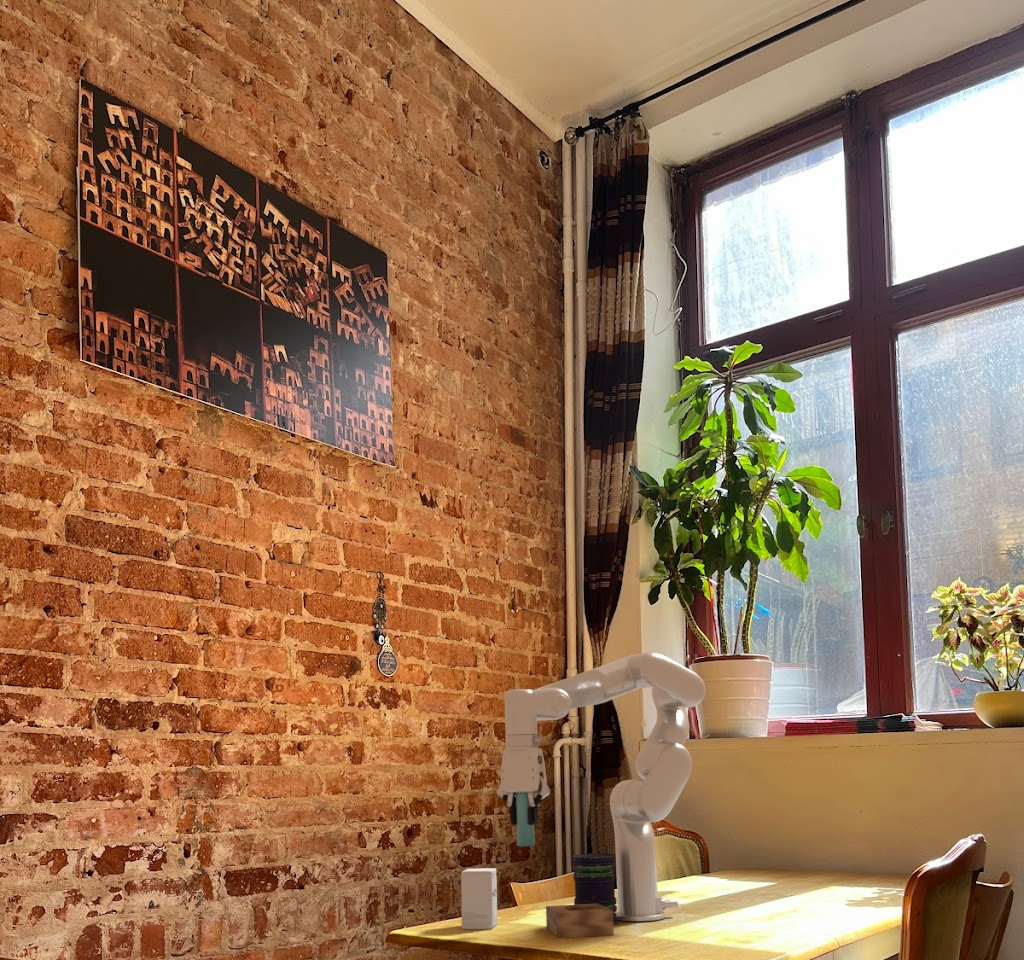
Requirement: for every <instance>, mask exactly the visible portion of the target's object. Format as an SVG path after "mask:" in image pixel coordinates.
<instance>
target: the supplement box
mask: <svg viewBox="0 0 1024 960" xmlns="http://www.w3.org/2000/svg"><path fill="white" fill-rule="evenodd" d="M460 874H461V875H460V878H461V883H460V885H461V887H460V889H461V893H460V895H461V901H460V902H461V929H462V930H493V928H494V927H496V926H497V925H498V890H497V889H498V888H497V885H498V884H497V883H498V881H497V878H498V877H497V868H496V867H495V868H490V867H486V868H485V867H482V868H481V867H480V868H466V869H465V870H462V871H461V872H460ZM496 924H497V925H496Z"/></svg>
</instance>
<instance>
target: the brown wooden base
mask: <svg viewBox="0 0 1024 960" xmlns="http://www.w3.org/2000/svg"><path fill="white" fill-rule="evenodd" d="M545 913H546V915H545V917H546V920H545V921H546V930H547V931H548V932H550V933H551V934H553V935H554V934H555V936H556V937H558V938H559V937H560V938H559V939H565V938H566V939H567V937H570V938H582V937H597V936H598V937H600V936H614V935H615V934H614V933H615V932H614V931H615V928H614V925H613V910H611V909H609V908H606V907H604V906H602V905H600V904H597V903H595V904H577V905H574V904H563V905H546V906H545Z"/></svg>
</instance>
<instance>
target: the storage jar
mask: <svg viewBox="0 0 1024 960" xmlns="http://www.w3.org/2000/svg"><path fill="white" fill-rule="evenodd" d="M614 860H615V855H614V854H612V853H580V854H575V855H572V861H573V863H572V864H573V865H572V866H573V867H572V873H573V874H572V875H573V877H572V879H573V881H574V896H575V897H574V899H573V903H574V904H573V905H577V904H595V903H597V904H600V905H602V906H604V907H606V908H609V909H611V910H613V926H614V925H617V924H618V920H616V915H617V914H616V913H614V912H616V911H618V905H617V903H618V900H617V898H616V895H615V894H616V893H615V891H616V890H615V880H616V865H615V861H614Z"/></svg>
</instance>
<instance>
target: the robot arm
mask: <svg viewBox="0 0 1024 960" xmlns="http://www.w3.org/2000/svg"><path fill="white" fill-rule="evenodd" d="M645 688H651V697H652V700H653V703H654V707H655V709H656V721H655V723H654V726H653V727H652V728H653V729H652V730H651V732H650V734H649V736H648V737H647V739H646V741H645V743H643V746H642V748H641V749H640V751H639V753H638V755H637V757H636V759H635V765H634V766H635V767H634V768H635V771H636V774H637V775H638V776H639V778H641V779H626V780H622V781H620V782H618V783H617V784H615V786H614V787H613V789H612V791H611V793H610V796H609V808H610V813H611V818H612V822H613V831H614V843H615V845H614V848H615V873H616V887H617V889H616V891H617V895H616V896H617V911H616V912H614V913H616V914H617V915H616V920H617V921H624V922H651V921H652V922H653V921H658V920H659V921H660V920H662V919H665V918H666V913H665V910H666V909H677V908H678V906H679V904H678V900H677V899H664V898H663V897H660V896H659V895H658V880H657V879H658V877H657V875H658V874H657V858H656V839H655V833H654V829H653V826H652V823H657V822H660V821H662V820H664V819H665V818H666V817H667V816H668V815H669V814H670V812H671V811H672V810H673V808H674V806H675V804H676V802H677V801H678V799H679V797H680V795H681V793H682V791H683V789H684V788H685V786H686V785H687V782H688V781H689V778H690V777H691V776H690V775H691V773H692V769H693V767H692V766H693V760H692V757H691V754H690V751H689V750H688V749H687V748H686V747H685V743H686V741H687V739H688V738H689V734H690V721H689V717H688V713H687V710H686V708H687V709H688V708H689V709H690V708H694V707H697V706H698V705H700V704H701V703H702V702H703V701H704V699H705V697H706V692H707V690H706V689H707V688H706V683H705V682H704V680H703V678H702V677H701V676H700V675H698V673H696V672H695V671H693V670H691V669H690V668H687V667H685V666H683V665H682V664H679V663H678V662H676V661H675V660H673V659H671V658H669V657H667V656H664V655H663V654H661V653H657V652H652V651H648V652H644V653H636V654H631V655H628V656H626V657H622V658H619V659H616V660H615V661H611V662H609V663H606V664H603V665H600V666H597V667H594V668H591V669H588V670H586V671H583V672H580V673H578V674H576V675H572V676H570V677H566V678H565V679H561V680H558V681H554V682H552V683H548V684H545V685H544V686H543V685H542V686H541V687H538V688H536V689H530V688H529V689H528V688H516V689H509V690H506V692H505V693H504V699H503V700H504V722H505V723H504V724H505V725H504V726H505V727H504V728H505V729H504V730H505V749H503V752H502V759H501V769H500V784H499V786H498V788H497V789H496V794H497V795H498V797H500V798H502V799H503V801H505V803H506V805H507V806H508V807H509V820H510V825H511V826H515V825H516V826H517V815H516V793H528V798H529V803H530V807H528V824H529V825H534V826H535V825H538V822H539V821H538V820H539V806H540V805H541V803H542V801H543V800H544V799H545V798H546V797H547V796H549V795H550V794H551V789H550V788H549V785H548V784H547V772H546V766H545V765H546V763H545V759H544V755H543V751H542V748H541V747H540V748H539V744H542V742H543V738H542V737H541V736H540V737H539V735H538V722H542V721H557V720H560V719H562V718H565V717H566V716H567V715H568V713H569V712H570V711H571V710H573V709H577V708H582V707H588V706H589V707H590V706H596V705H600V704H604V703H607V702H610V701H612V700H615V699H616V698H620V697H622V696H624V695H626V694H627V695H628V694H630V693H632V692H636V691H637V690H640V689H645Z"/></svg>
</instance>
